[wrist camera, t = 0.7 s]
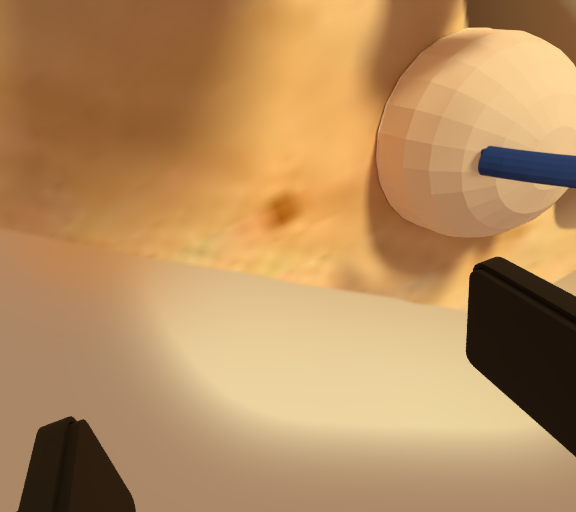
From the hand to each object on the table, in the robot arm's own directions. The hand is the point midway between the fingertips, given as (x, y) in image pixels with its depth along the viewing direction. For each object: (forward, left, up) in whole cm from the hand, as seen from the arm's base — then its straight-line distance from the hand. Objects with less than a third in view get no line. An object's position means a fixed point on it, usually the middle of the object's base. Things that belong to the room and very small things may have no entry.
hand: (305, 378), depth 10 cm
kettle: (+1, +29, -29) cm, 41 cm away
